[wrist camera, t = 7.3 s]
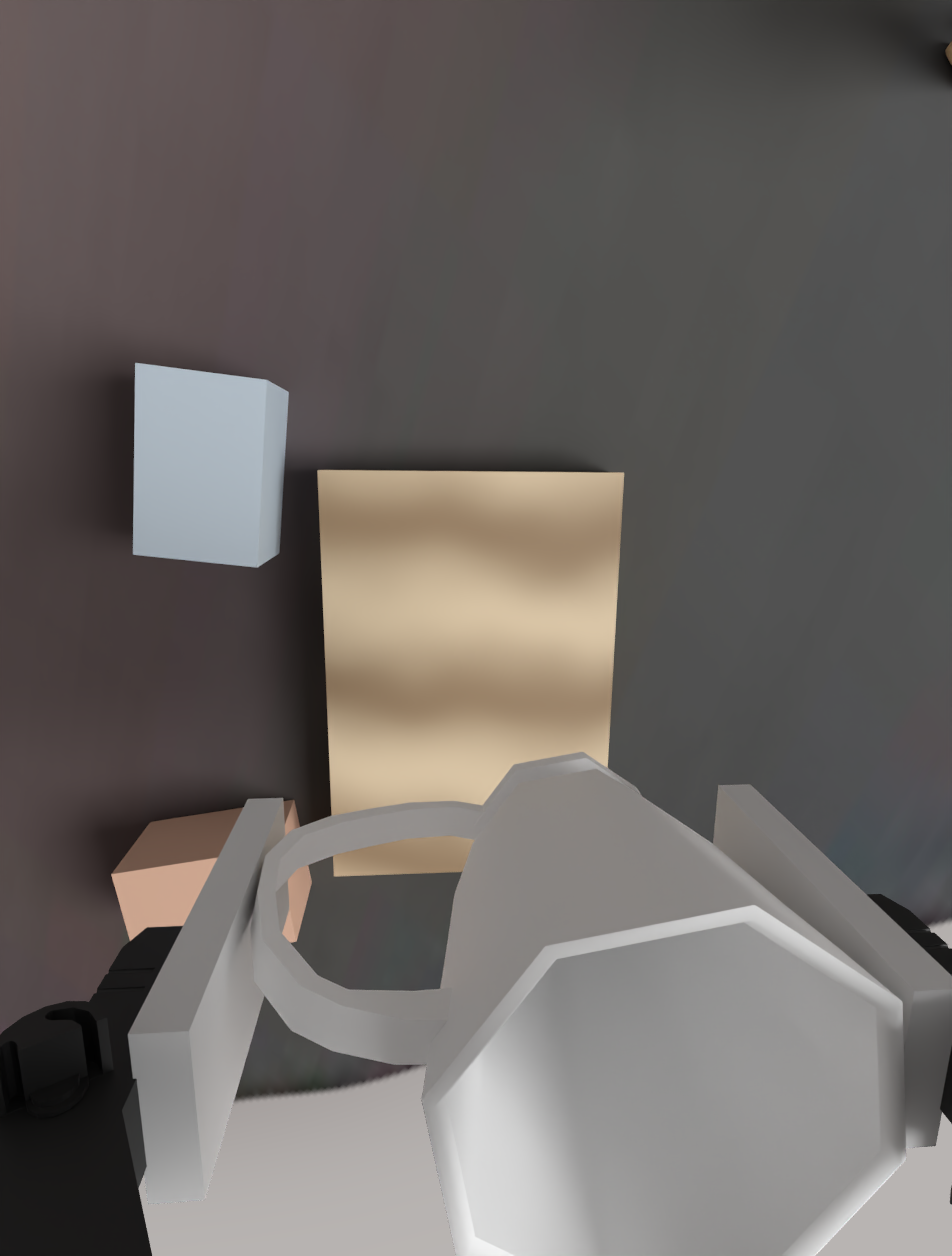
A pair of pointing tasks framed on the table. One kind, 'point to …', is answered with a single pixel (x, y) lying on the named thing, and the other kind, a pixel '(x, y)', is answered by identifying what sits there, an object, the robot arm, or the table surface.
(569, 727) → the oak board
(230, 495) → the slate brick
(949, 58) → the toy
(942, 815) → the table surface
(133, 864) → the terracotta brick
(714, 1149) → the cup
